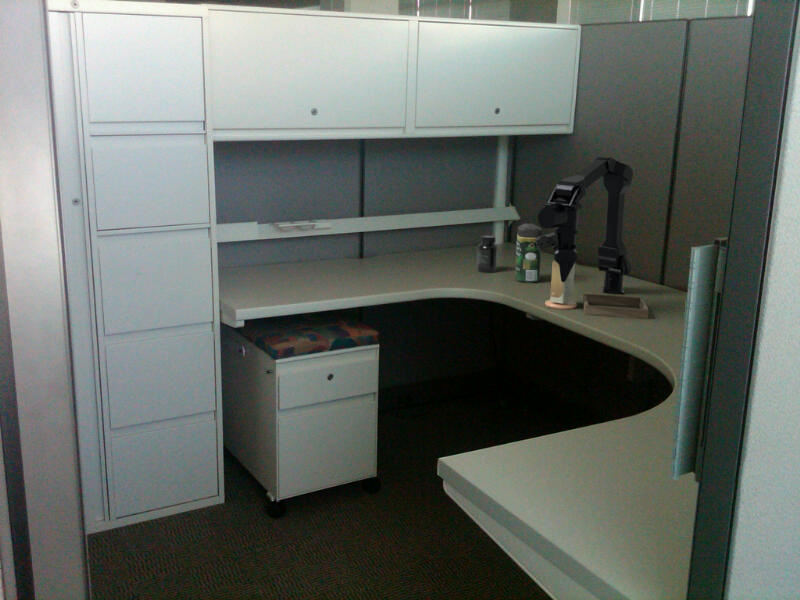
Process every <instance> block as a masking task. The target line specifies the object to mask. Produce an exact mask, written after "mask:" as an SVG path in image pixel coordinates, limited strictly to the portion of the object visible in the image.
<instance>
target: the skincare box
mask: <svg viewBox="0 0 800 600" xmlns="http://www.w3.org/2000/svg"><path fill="white" fill-rule="evenodd" d="M575 269H576V262H575V263H574V265H573V267H572V269H571V271H570V273H569V275H568V277H567V279H566V281H565V282H561V277H560V268H559V264H558V263H557V262H556V261H555V260H554V259H553V260H552V267H551V278H550V279H551V282H550V297H549V300H550V301H551V302H556V303H561V304H564V303H566V302H569V301H573V299H574V285H575V284H574V282H575V271H576V270H575Z"/></svg>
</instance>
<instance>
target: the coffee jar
mask: <svg viewBox="0 0 800 600" xmlns="http://www.w3.org/2000/svg"><path fill="white" fill-rule="evenodd" d="M516 236H517V237H516V248H515V267H514V269H515V270H514V278H515V280H517V281H518V282H522V283H526V284H527V283H528V284H532V283H537V282H539V281H540V271H541V259H542V258H541V256H542V255H541V254H542V250H538V247H537V244H536V241H535V238H537V237H540V236H543V229H542V227H541V226H540V227H539V226H538V225H536V224H535V223H522V224H521V225H519V226H518V227H517V234H516Z"/></svg>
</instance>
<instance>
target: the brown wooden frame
mask: <svg viewBox="0 0 800 600" xmlns="http://www.w3.org/2000/svg"><path fill="white" fill-rule="evenodd" d="M591 304H600V305H591ZM601 304H603V305H602V306H601ZM605 305H613V306H605ZM616 305H618V306H630V307H618V306H616ZM582 306H583V307H582V308H583V313H584V315H585V316H587V315H588V316H602V317H603V316H604V317H617V318H631V319H644V320H645V319H646V320H648V319H649V308H648V306H647V304H646V302H645V300H644V297H642V296H641V297H639V296H627V295H609V294H594V293H582ZM615 306H616V307H615ZM631 306H632V307H639V308H632V307H631Z"/></svg>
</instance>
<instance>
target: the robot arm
mask: <svg viewBox="0 0 800 600" xmlns="http://www.w3.org/2000/svg"><path fill="white" fill-rule="evenodd" d="M633 177H634V171H633V169H632V167H631V166H630V164H629V165H628V164H625V163H623V162H620V161H618V160H616V158H613V157H611V156H601V155H600V156H597V157H596V158H595V159H594V161H592V162H590V163H589V165H587V166H586V167H585V168H583V169H582V170H580V172H578V173H577V174H575V175H574V176H573V175H572V176H569V177H565V178H562V179H561V180H559V181H558V182H557V183H556V184H555V187H554V189H553V191H552V192H551V194H550V197H549V199H548V201H547V202H546V203H545V204H544V208H542V209H541V210H540V211H539V213H538V215H537V222H538V224H539V225H540V228H543V229H545V230H548V229H549V230H550V229H554V232H550V233H546V234H544V235H543V234H542V236H540V237H537V238H535V241H536V244H537V247H538V250H541V251H542V250H544V249H548V248H550V247H553V261H554V260H555V261H556V262H557V263H558V264H559V268H560V277H561V282H565V281H566V279H567V277H568V275H569V273H570V271H571V269H572V267H573V265H574V263H575V264H576V261H578V252H577V250H576V248H577V234H578V217H579V210H580V209H583V205H582V204H580V202H581V200H582V199H584V197H585V196H586V195H587V189H588V188H589V187H590V186H592V185H593V184H594V183H596V182H597V181H598V180H599V179H600V178H602V185H603V187H604V189H605V191H606V192H607V202H606V203H607V207H606V219H605V220H606V222H605V236H604V237H605V238H604V239H605V240H604V241H603V243H602V244H601V245H599V246H598V248H597V257H596V259H597V264H598V271H599V272H604V279H603V286H601V291H602V293H606V294H622V295H624V294H625V291H624V288H623V283H624V276H629V274H631V271H632V265H631V262H630V261H629V259H628V256H627V255H628V254H627V248H626V246H625V243H624V242H623V230H624V229H623V227H624V226H623V225H624V213H625V211H624V210H625V197H626V195H625V194H626V193H627V192H628V190H629V189H630V187H631V186H632V179H633Z"/></svg>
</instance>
